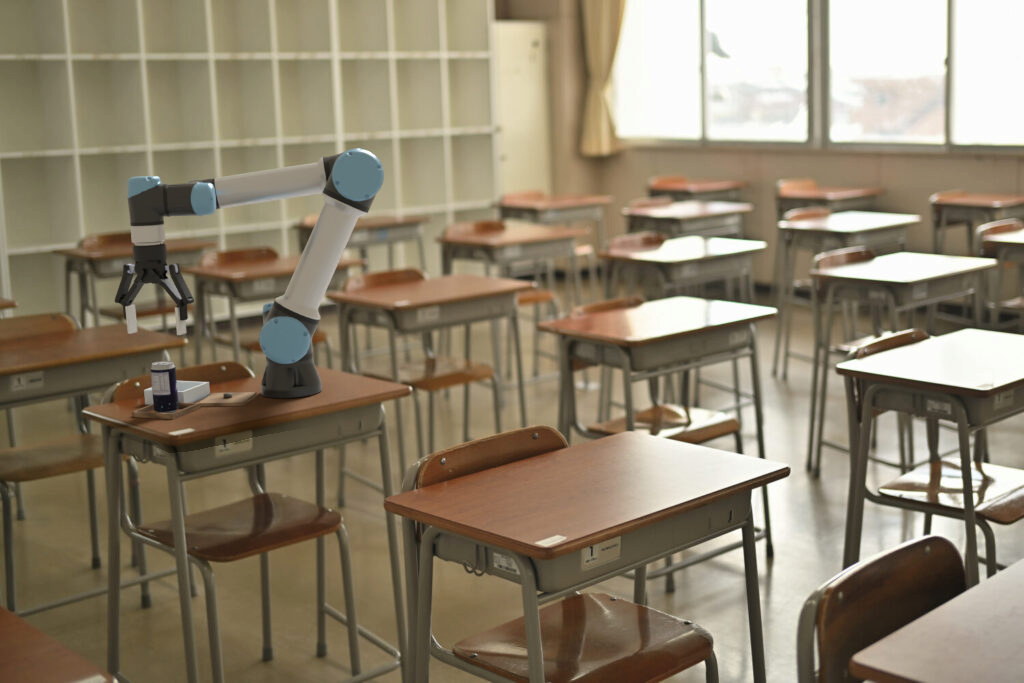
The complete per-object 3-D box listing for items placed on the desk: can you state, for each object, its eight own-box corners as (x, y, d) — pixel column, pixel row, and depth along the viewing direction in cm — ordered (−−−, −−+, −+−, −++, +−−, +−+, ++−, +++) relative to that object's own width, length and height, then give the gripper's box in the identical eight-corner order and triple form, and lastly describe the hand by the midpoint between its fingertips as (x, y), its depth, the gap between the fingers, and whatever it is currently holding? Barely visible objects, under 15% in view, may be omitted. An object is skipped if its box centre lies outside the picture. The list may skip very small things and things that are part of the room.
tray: (210, 396, 297) (209, 382, 296) (184, 406, 287) (183, 391, 286) (172, 394, 301) (170, 380, 300) (145, 404, 290) (143, 389, 290)
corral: (200, 408, 284) (200, 403, 284) (173, 419, 274) (172, 414, 274) (160, 405, 288) (160, 401, 288) (132, 416, 277) (131, 411, 277)
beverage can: (182, 412, 280) (178, 363, 278) (159, 416, 277) (154, 366, 275) (174, 408, 285) (170, 359, 283) (150, 412, 282) (146, 362, 279)
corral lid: (256, 395, 296) (256, 388, 296) (243, 405, 285) (243, 398, 285) (212, 395, 297) (212, 388, 297) (198, 406, 286) (197, 399, 286)
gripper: (204, 241, 274) (211, 331, 278) (114, 241, 282) (122, 329, 286) (185, 245, 267) (193, 337, 271) (93, 245, 275) (102, 334, 279)
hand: (157, 333), depth 279 cm, fingers open, 13 cm apart
